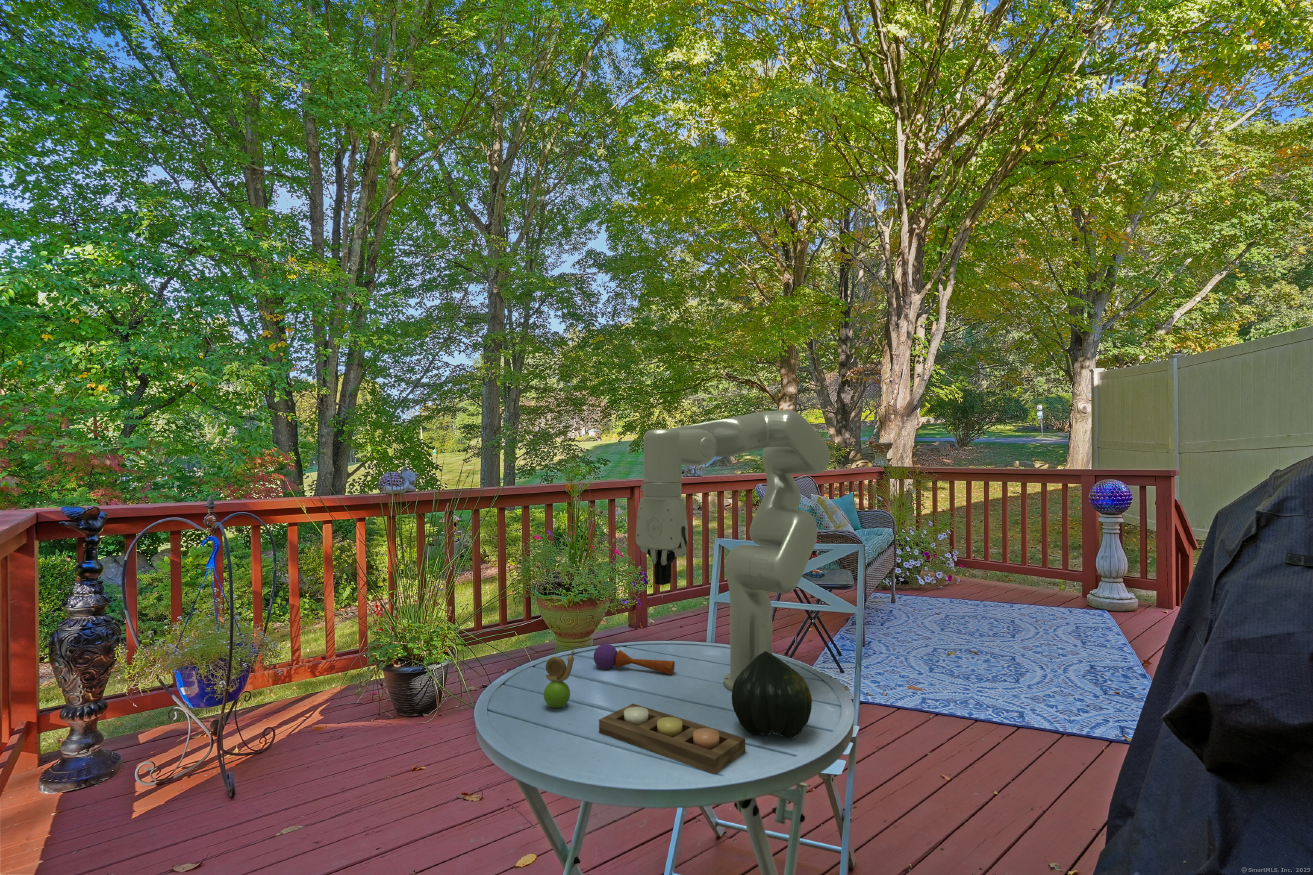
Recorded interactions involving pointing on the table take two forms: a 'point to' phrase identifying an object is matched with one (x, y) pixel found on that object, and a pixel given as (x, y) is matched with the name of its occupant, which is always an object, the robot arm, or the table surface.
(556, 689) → the snail figurine
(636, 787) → the table surface
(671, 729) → the mustard button
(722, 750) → the button panel
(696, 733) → the terracotta button
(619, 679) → the table surface
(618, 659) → the purple and brown maraca
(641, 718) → the cream button
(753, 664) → the squash
